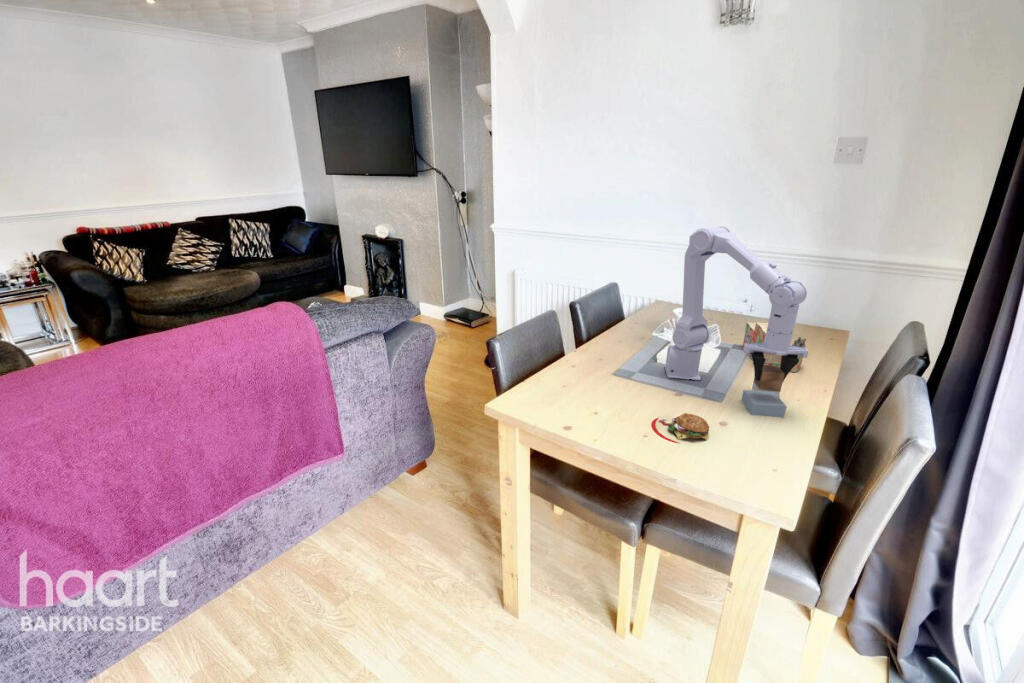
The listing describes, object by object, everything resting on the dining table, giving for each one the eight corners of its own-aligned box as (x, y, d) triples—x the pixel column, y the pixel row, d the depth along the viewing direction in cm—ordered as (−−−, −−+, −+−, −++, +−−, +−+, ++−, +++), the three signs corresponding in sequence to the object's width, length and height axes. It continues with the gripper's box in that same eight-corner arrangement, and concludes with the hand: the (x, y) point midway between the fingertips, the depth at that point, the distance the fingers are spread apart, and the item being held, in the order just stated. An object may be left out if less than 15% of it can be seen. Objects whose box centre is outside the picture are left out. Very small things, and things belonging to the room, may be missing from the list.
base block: (750, 415, 124) (753, 403, 122) (741, 401, 131) (743, 389, 130) (783, 418, 123) (786, 406, 121) (771, 403, 130) (774, 392, 129)
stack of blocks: (741, 346, 169) (748, 313, 165) (760, 348, 168) (767, 314, 164) (758, 371, 150) (767, 334, 145) (780, 373, 148) (789, 336, 144)
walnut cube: (759, 389, 123) (763, 371, 121) (753, 381, 127) (757, 364, 125) (780, 391, 122) (784, 373, 120) (774, 383, 126) (778, 365, 125)
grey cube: (760, 397, 133) (764, 380, 131) (751, 389, 138) (755, 373, 136) (778, 397, 133) (782, 380, 131) (769, 389, 138) (772, 373, 136)
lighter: (795, 373, 148) (803, 343, 145) (782, 370, 151) (789, 340, 147) (801, 367, 153) (809, 337, 149) (788, 363, 155) (795, 334, 152)
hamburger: (697, 416, 123) (701, 395, 121) (721, 447, 110) (726, 424, 108) (644, 416, 123) (647, 395, 120) (661, 446, 110) (665, 423, 107)
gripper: (753, 333, 116) (742, 384, 121) (818, 338, 114) (804, 389, 119) (745, 324, 123) (735, 372, 128) (806, 328, 121) (794, 377, 125)
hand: (768, 380), depth 124 cm, fingers closed on walnut cube, 5 cm apart
